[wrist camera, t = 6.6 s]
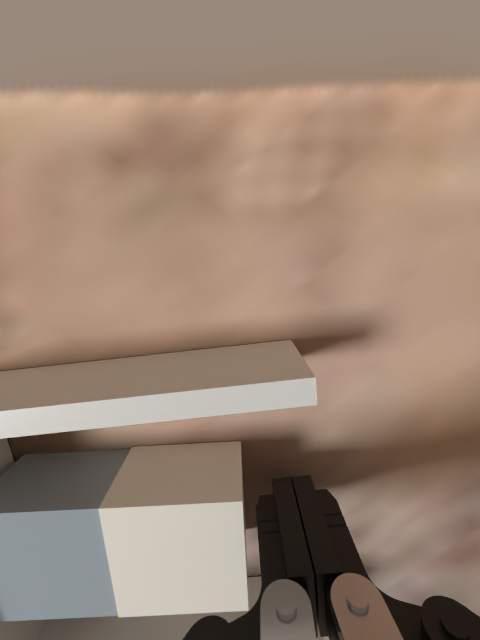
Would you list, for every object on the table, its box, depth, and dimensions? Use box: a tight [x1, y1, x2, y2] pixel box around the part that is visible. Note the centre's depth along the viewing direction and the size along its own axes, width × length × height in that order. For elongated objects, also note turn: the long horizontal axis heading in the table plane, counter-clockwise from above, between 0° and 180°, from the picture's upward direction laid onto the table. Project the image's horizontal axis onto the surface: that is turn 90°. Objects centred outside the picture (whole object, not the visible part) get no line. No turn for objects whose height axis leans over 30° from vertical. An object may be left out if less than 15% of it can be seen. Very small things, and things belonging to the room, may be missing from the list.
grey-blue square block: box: [0, 449, 131, 622], centre depth 11 cm, size 4×4×3 cm
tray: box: [0, 340, 324, 640], centre depth 11 cm, size 13×12×4 cm
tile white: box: [98, 441, 249, 618], centre depth 11 cm, size 4×4×3 cm
